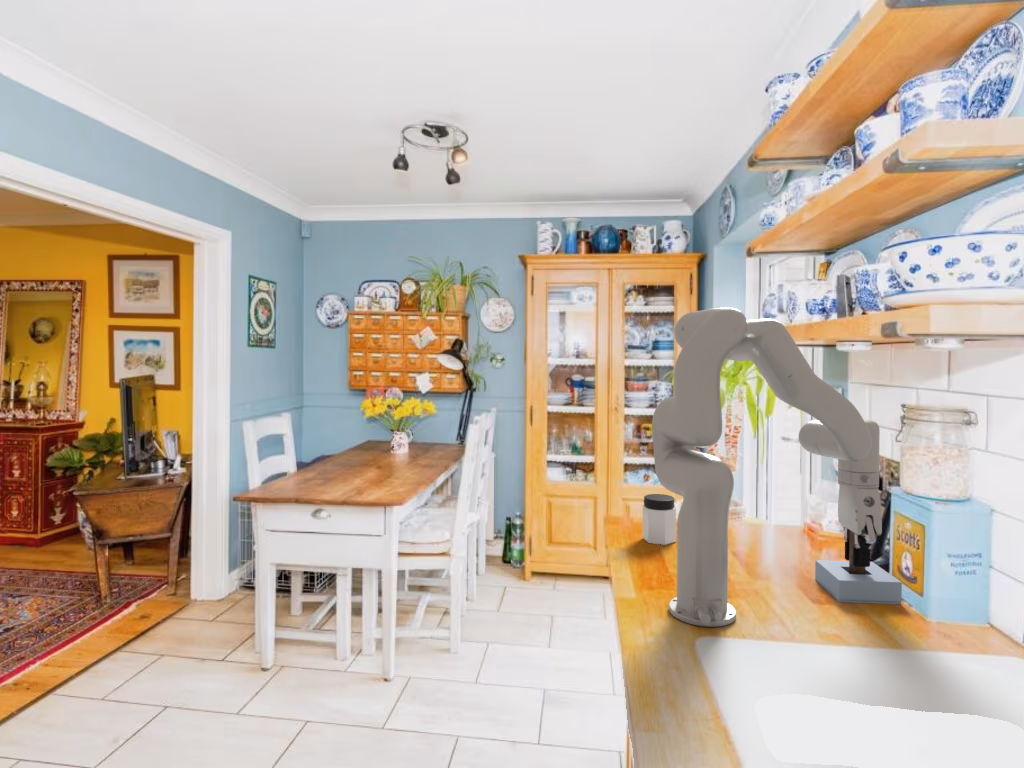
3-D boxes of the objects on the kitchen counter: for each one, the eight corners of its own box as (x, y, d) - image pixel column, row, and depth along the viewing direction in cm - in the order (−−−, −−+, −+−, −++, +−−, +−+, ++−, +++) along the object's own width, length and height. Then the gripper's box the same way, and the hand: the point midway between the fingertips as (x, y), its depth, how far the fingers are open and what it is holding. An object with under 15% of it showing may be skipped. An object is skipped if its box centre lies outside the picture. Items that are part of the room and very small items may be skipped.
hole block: (901, 604, 118) (901, 582, 118) (838, 601, 120) (839, 580, 119) (871, 581, 130) (872, 561, 130) (815, 579, 131) (815, 560, 131)
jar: (657, 533, 167) (657, 492, 166) (681, 540, 160) (681, 497, 160) (636, 539, 161) (636, 496, 161) (660, 547, 155) (660, 502, 154)
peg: (868, 579, 123) (868, 533, 123) (853, 579, 123) (853, 533, 123) (861, 574, 126) (861, 529, 126) (846, 574, 126) (847, 528, 126)
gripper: (897, 486, 115) (896, 578, 116) (858, 470, 131) (857, 550, 132) (857, 486, 116) (856, 577, 117) (823, 470, 132) (822, 550, 133)
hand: (857, 562), depth 125 cm, fingers closed on peg, 3 cm apart
